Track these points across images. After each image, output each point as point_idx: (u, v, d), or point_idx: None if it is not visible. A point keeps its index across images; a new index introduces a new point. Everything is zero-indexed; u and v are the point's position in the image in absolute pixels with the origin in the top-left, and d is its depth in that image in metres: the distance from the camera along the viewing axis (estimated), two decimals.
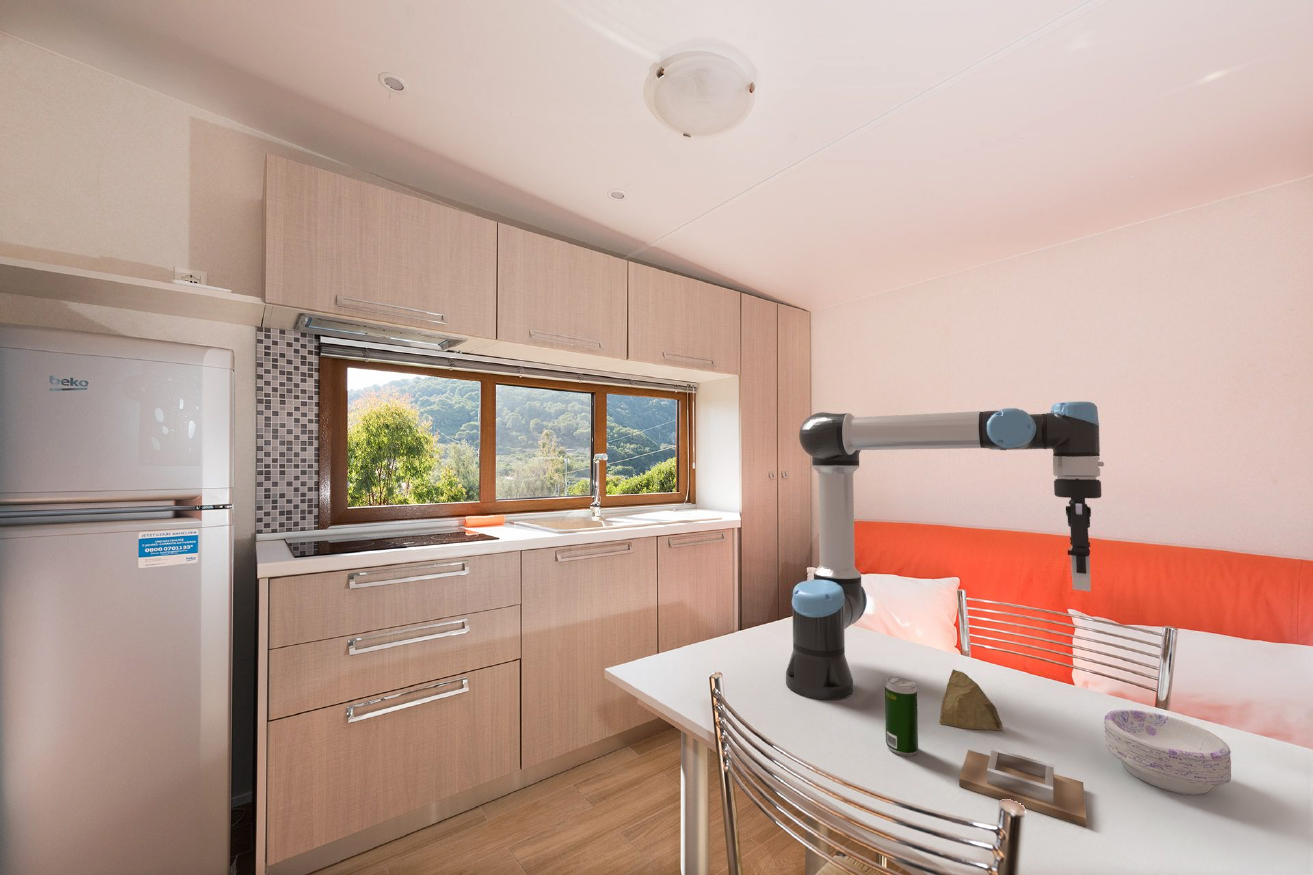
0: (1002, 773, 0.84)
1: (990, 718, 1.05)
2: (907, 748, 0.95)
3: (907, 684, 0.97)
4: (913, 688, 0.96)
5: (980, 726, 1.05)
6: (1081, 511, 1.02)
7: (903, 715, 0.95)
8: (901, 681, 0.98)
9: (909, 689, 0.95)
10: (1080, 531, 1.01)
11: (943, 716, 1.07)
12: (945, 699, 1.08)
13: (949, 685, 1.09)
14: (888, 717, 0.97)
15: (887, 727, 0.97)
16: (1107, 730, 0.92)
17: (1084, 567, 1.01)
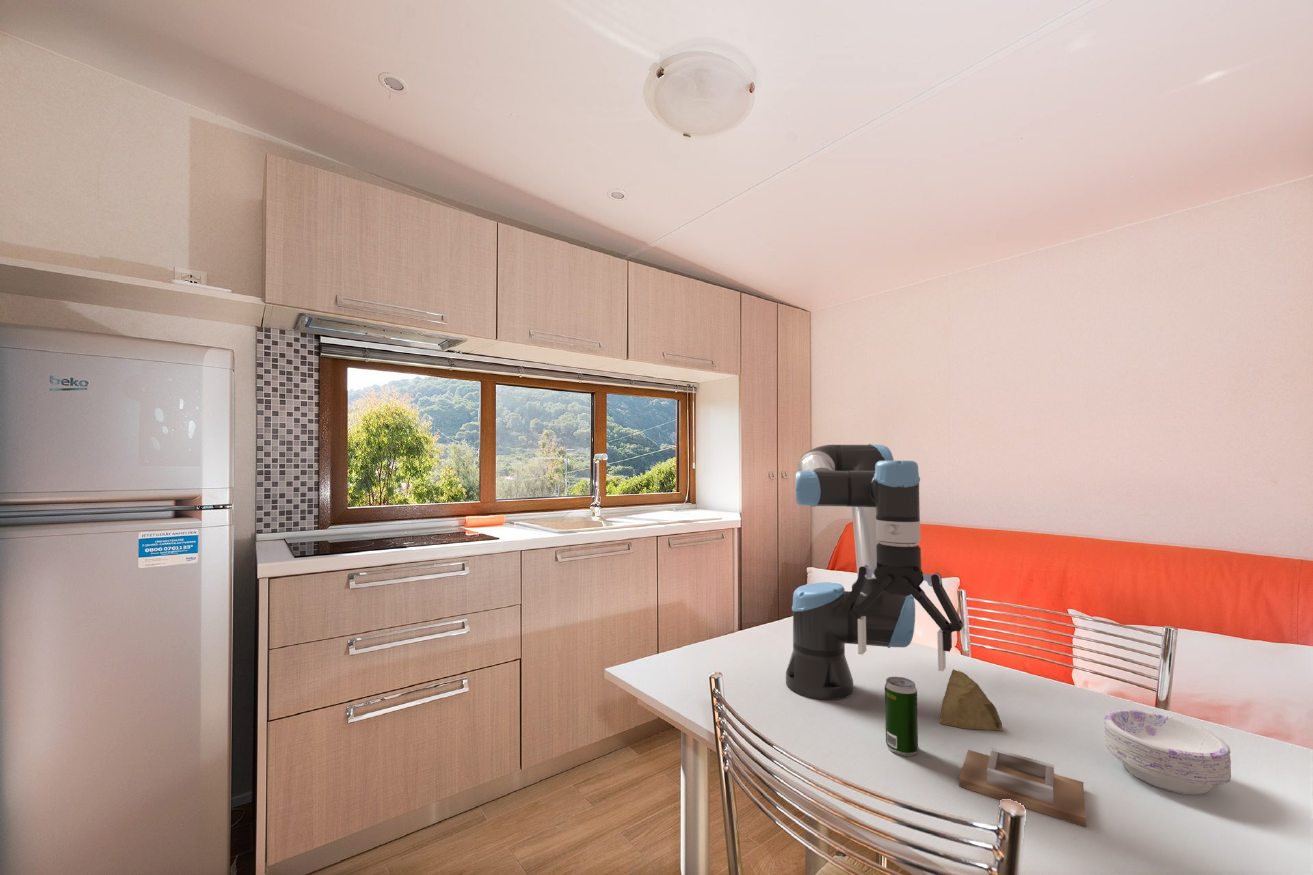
0: (1002, 773, 0.84)
1: (990, 718, 1.05)
2: (907, 748, 0.95)
3: (907, 684, 0.97)
4: (913, 688, 0.96)
5: (980, 726, 1.05)
6: None
7: (903, 715, 0.95)
8: (901, 681, 0.98)
9: (909, 689, 0.95)
10: None
11: (943, 716, 1.07)
12: (945, 699, 1.08)
13: (949, 685, 1.09)
14: (888, 717, 0.97)
15: (887, 727, 0.97)
16: (1107, 730, 0.92)
17: (853, 627, 1.03)
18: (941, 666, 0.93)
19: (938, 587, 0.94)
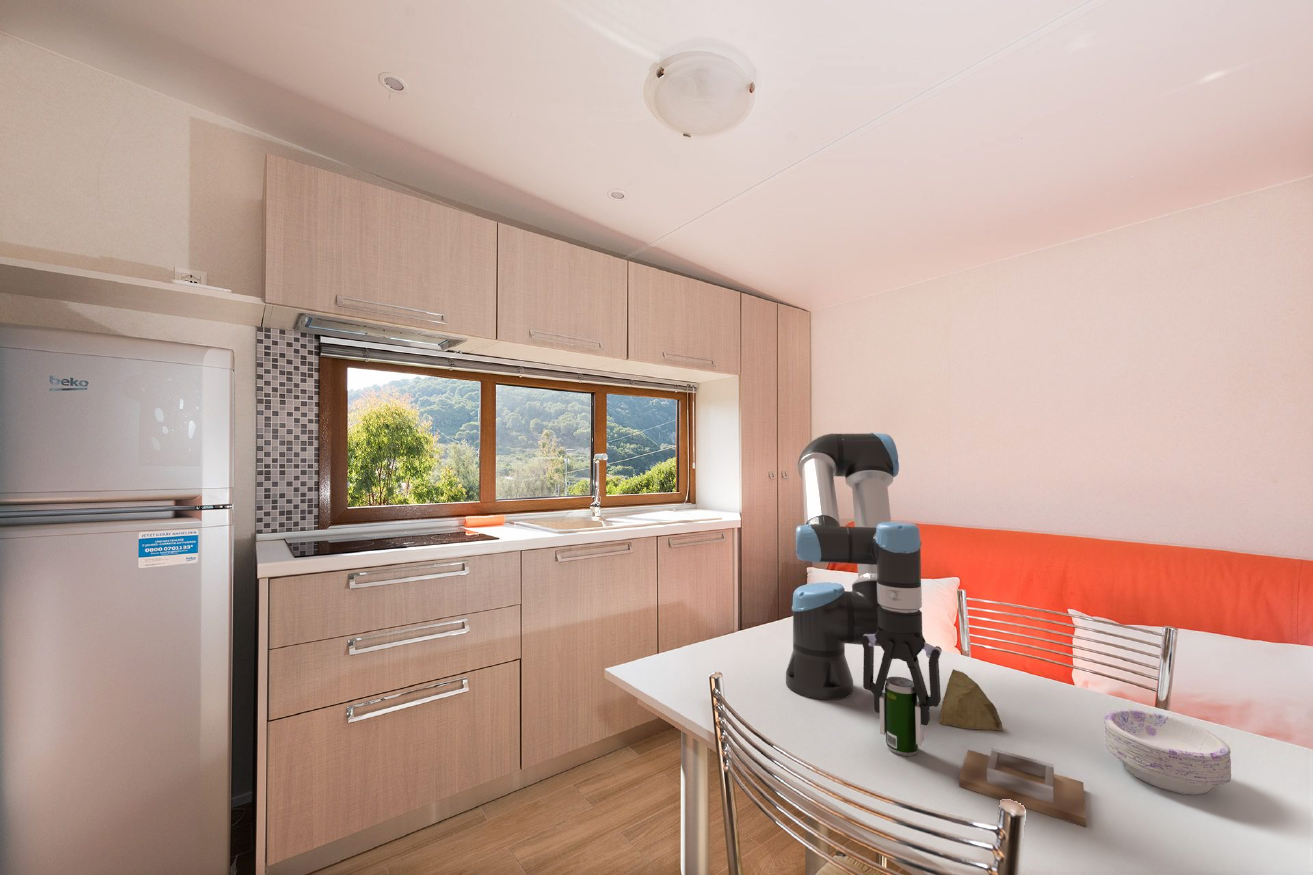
0: (1002, 773, 0.84)
1: (990, 718, 1.05)
2: (907, 748, 0.95)
3: (907, 684, 0.97)
4: (913, 688, 0.96)
5: (980, 726, 1.05)
6: None
7: (903, 715, 0.95)
8: (901, 681, 0.98)
9: (909, 689, 0.95)
10: None
11: (943, 716, 1.07)
12: (945, 699, 1.08)
13: (949, 685, 1.09)
14: (888, 717, 0.97)
15: (887, 727, 0.97)
16: (1107, 730, 0.92)
17: (874, 704, 1.00)
18: (919, 740, 0.94)
19: (934, 662, 0.94)
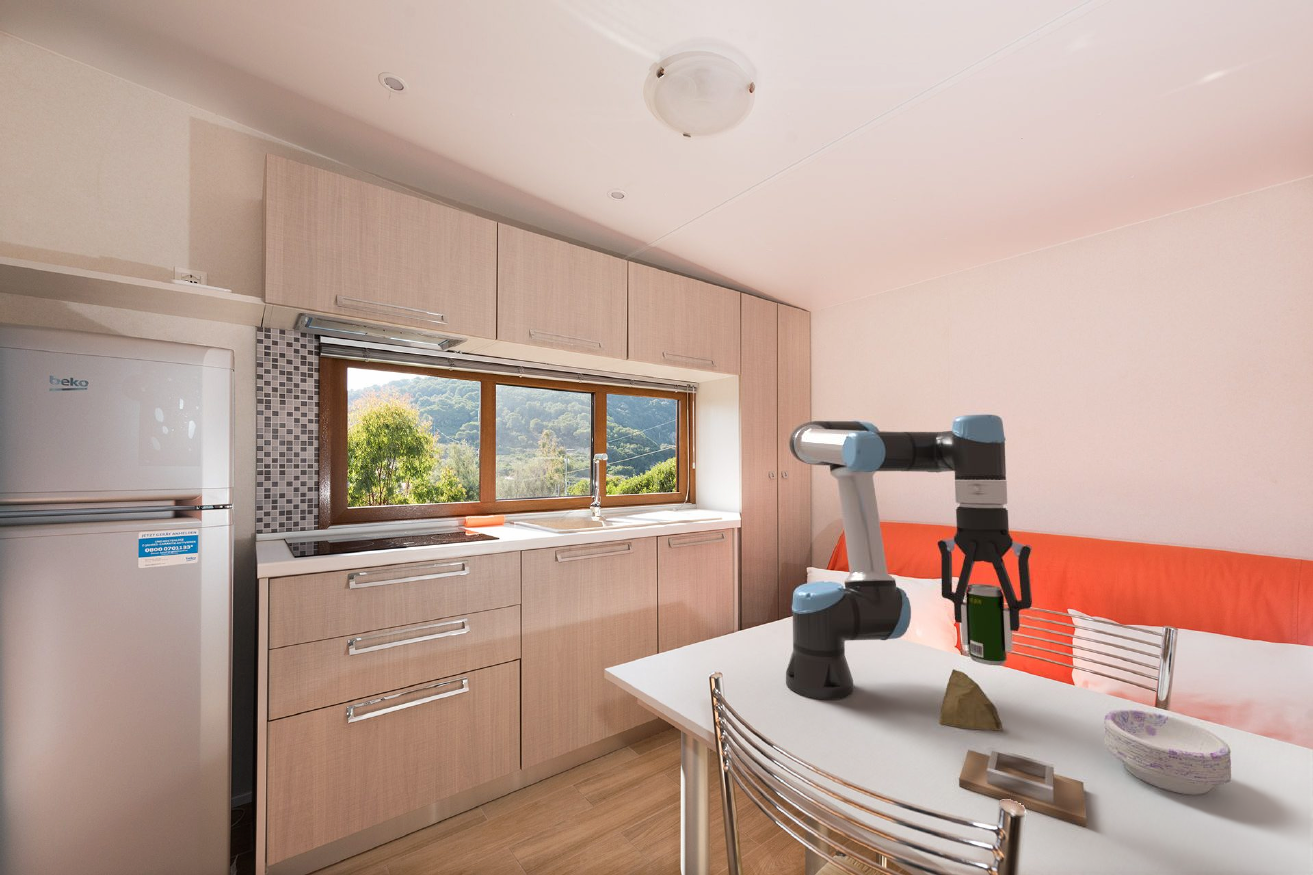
0: (1002, 773, 0.84)
1: (990, 718, 1.05)
2: (995, 656, 0.86)
3: (992, 588, 0.88)
4: (1000, 591, 0.87)
5: (980, 726, 1.05)
6: None
7: (990, 620, 0.86)
8: (984, 587, 0.90)
9: (995, 592, 0.87)
10: None
11: (943, 716, 1.07)
12: (945, 699, 1.08)
13: (949, 685, 1.09)
14: (971, 624, 0.89)
15: (970, 636, 0.89)
16: (1107, 730, 0.92)
17: None
18: (1009, 647, 0.86)
19: (1025, 560, 0.85)
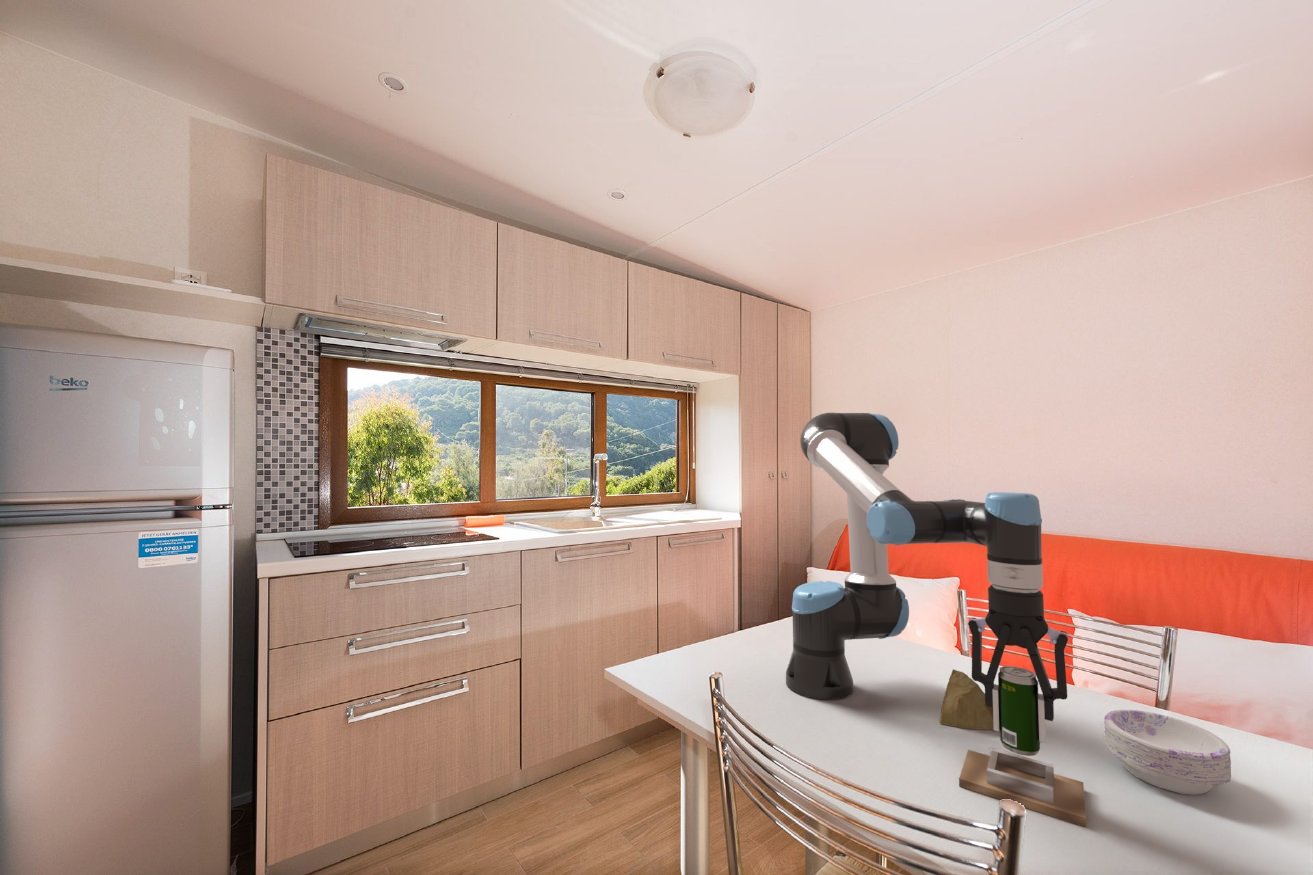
0: (1002, 773, 0.84)
1: (990, 718, 1.05)
2: (1029, 747, 0.83)
3: (1026, 674, 0.85)
4: (1034, 678, 0.84)
5: (980, 726, 1.05)
6: None
7: (1024, 709, 0.84)
8: (1017, 671, 0.87)
9: (1030, 679, 0.84)
10: None
11: (943, 716, 1.07)
12: (945, 699, 1.08)
13: (949, 685, 1.09)
14: (1004, 711, 0.86)
15: (1002, 722, 0.86)
16: (1107, 730, 0.92)
17: (985, 697, 0.89)
18: (1043, 737, 0.83)
19: (1062, 649, 0.82)
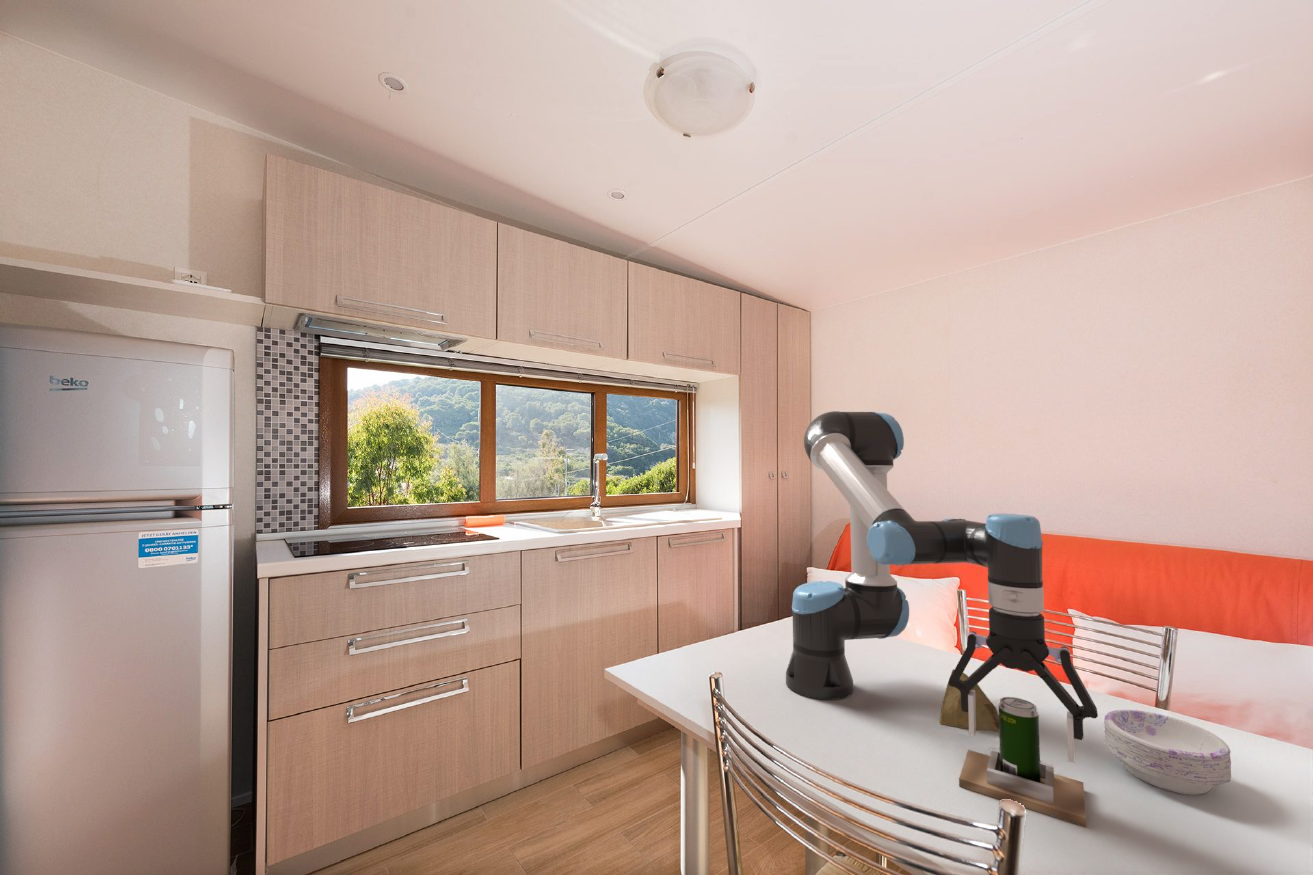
0: (1002, 773, 0.84)
1: (990, 718, 1.05)
2: None
3: (1027, 706, 0.85)
4: (1035, 711, 0.84)
5: (980, 726, 1.05)
6: None
7: (1025, 742, 0.84)
8: (1018, 702, 0.87)
9: (1031, 712, 0.84)
10: None
11: (943, 716, 1.07)
12: (945, 699, 1.08)
13: (949, 685, 1.09)
14: (1004, 743, 0.86)
15: (1003, 754, 0.86)
16: (1107, 730, 0.92)
17: (961, 703, 0.91)
18: (1072, 757, 0.81)
19: (1069, 665, 0.82)
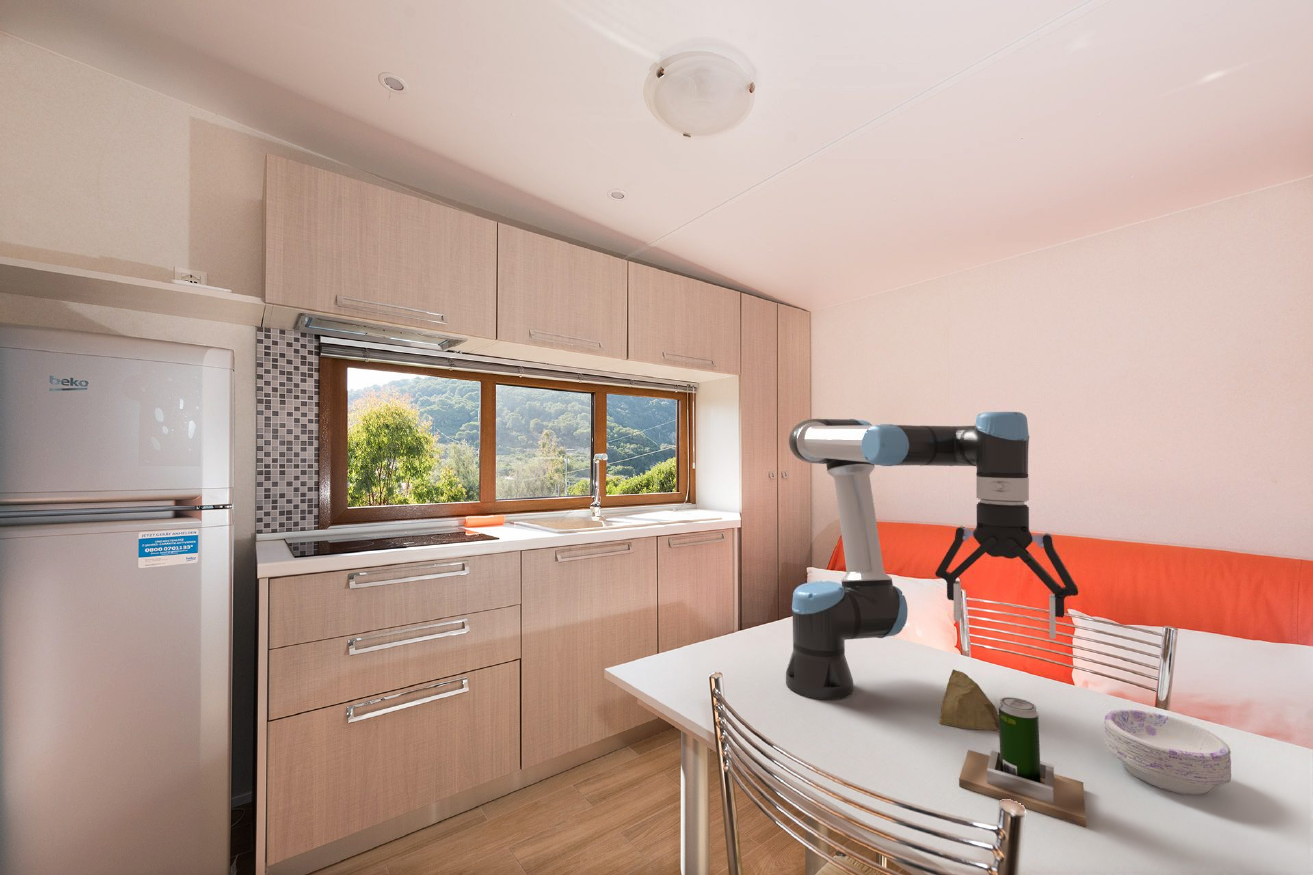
0: (1002, 773, 0.84)
1: (990, 718, 1.05)
2: None
3: (1026, 706, 0.85)
4: (1035, 711, 0.84)
5: (980, 726, 1.05)
6: None
7: (1025, 742, 0.83)
8: (1017, 703, 0.87)
9: (1031, 712, 0.84)
10: None
11: (943, 716, 1.07)
12: (945, 699, 1.08)
13: (949, 685, 1.09)
14: (1004, 744, 0.85)
15: (1003, 755, 0.86)
16: (1107, 730, 0.92)
17: (947, 592, 0.95)
18: (1053, 633, 0.85)
19: (1051, 548, 0.86)
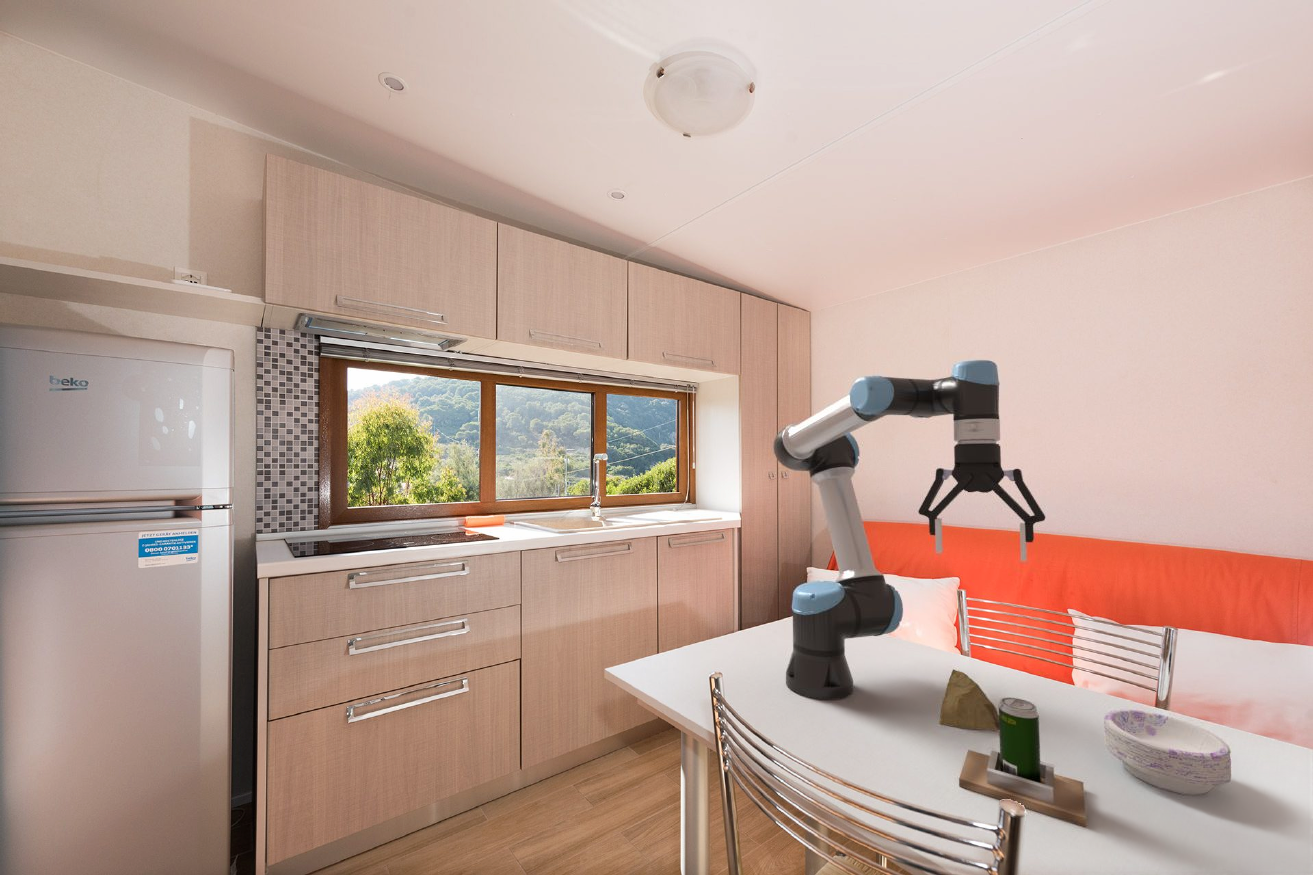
0: (1002, 773, 0.84)
1: (990, 718, 1.05)
2: None
3: (1027, 707, 0.85)
4: (1035, 711, 0.84)
5: (980, 726, 1.05)
6: None
7: (1025, 742, 0.83)
8: (1018, 703, 0.87)
9: (1031, 713, 0.84)
10: None
11: (943, 716, 1.07)
12: (945, 699, 1.08)
13: (949, 685, 1.09)
14: (1004, 744, 0.85)
15: (1003, 755, 0.86)
16: (1107, 730, 0.92)
17: (929, 528, 1.05)
18: (1024, 557, 0.95)
19: (1020, 480, 0.95)
